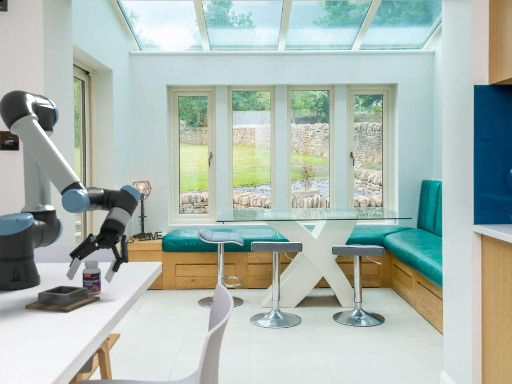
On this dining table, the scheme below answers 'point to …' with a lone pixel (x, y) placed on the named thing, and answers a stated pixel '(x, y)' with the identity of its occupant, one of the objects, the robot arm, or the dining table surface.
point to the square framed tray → (62, 299)
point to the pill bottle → (92, 277)
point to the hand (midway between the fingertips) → (87, 279)
